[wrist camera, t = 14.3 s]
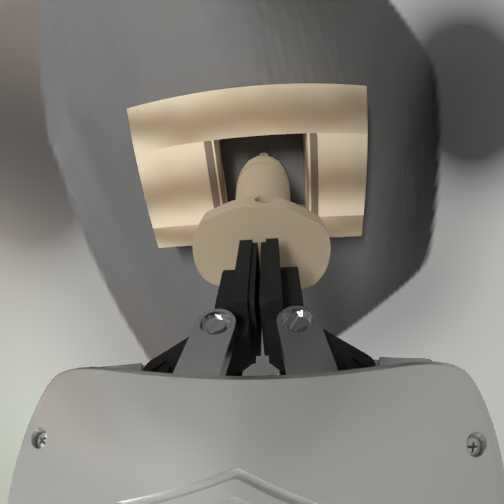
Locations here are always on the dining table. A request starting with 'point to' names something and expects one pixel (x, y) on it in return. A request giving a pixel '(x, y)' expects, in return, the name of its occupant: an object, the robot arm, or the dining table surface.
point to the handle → (262, 226)
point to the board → (243, 125)
